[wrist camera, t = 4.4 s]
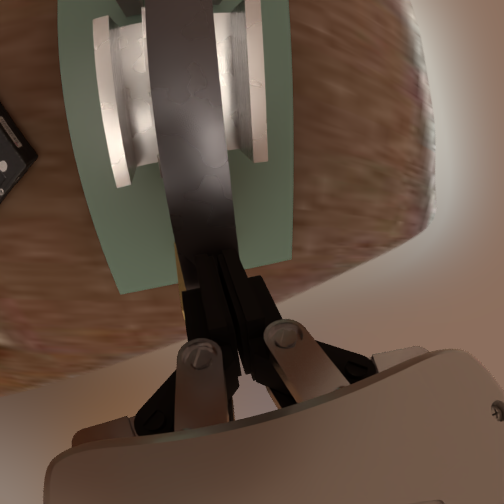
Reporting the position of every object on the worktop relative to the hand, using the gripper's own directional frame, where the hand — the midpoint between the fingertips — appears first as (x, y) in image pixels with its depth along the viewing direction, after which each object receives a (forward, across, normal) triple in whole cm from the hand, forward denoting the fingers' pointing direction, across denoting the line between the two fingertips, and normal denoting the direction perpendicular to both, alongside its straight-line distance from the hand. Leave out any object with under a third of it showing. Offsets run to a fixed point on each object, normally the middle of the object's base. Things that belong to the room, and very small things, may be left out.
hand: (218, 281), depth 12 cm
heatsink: (+8, 0, -8) cm, 11 cm away
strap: (+2, 0, -6) cm, 6 cm away
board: (+10, 0, -6) cm, 11 cm away
